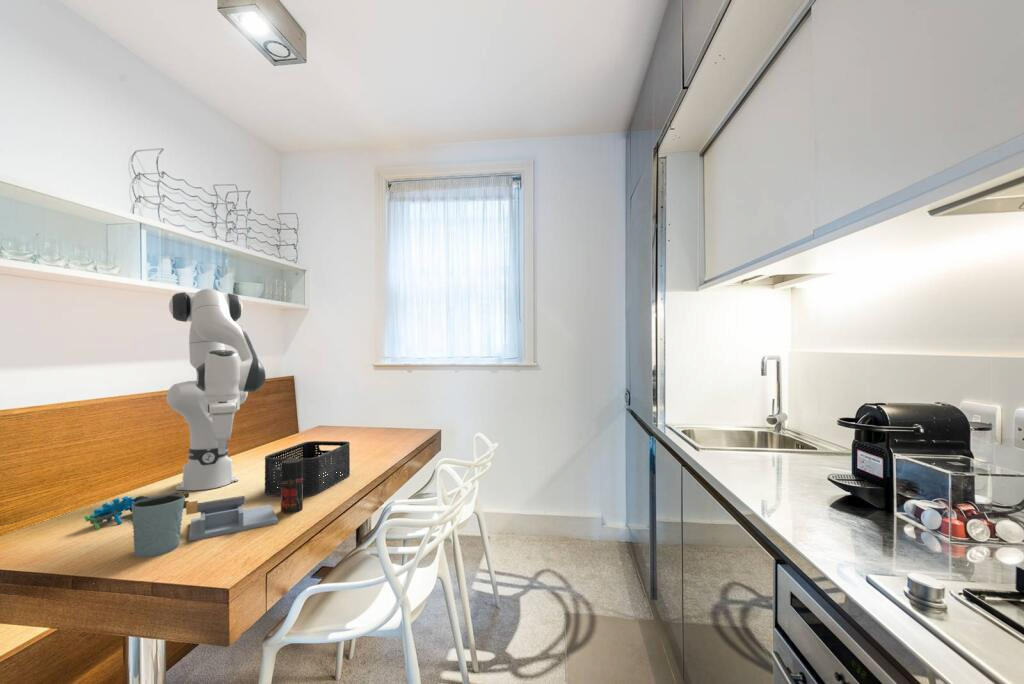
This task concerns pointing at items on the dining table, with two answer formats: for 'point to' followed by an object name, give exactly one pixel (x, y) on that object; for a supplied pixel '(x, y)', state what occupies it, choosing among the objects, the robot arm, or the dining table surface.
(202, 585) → the dining table surface
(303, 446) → the storage bin
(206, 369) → the robot arm
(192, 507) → the latch bar
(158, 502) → the embossed plant pot
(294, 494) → the deodorant
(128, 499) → the blue green toy
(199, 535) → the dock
